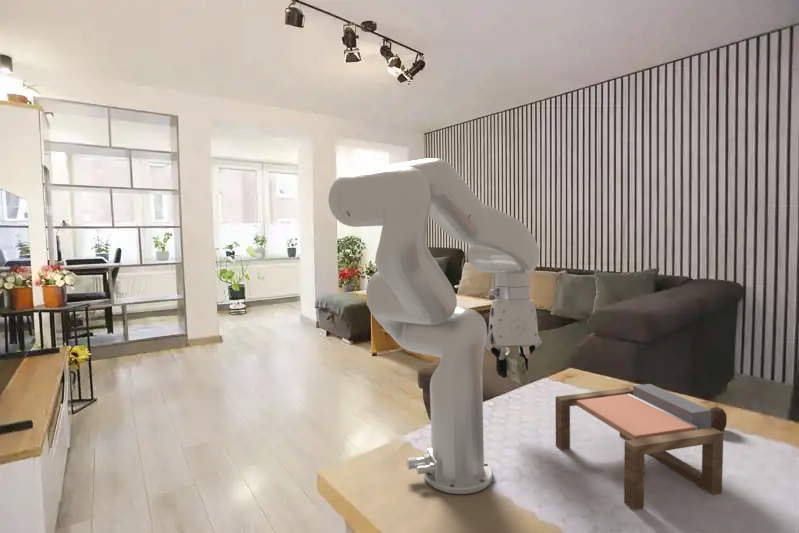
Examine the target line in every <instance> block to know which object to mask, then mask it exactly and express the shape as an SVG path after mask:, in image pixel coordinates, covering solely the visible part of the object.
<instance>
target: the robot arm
mask: <svg viewBox="0 0 799 533" xmlns="http://www.w3.org/2000/svg"><path fill="white" fill-rule="evenodd" d="M328 206H329V209H330V212H331V214H332V215H333V217H334V218H335V219H336V220H337V221H338V222H339V223H341V224H342V225H343V226H344V225H345V226H348V227H354V228H357V227H359V228H360V227H381V226H382V227H381V231H380V232H381V233H380V237H379V241H378V242H379V243H378V245H377V246H378V247H377V250H376V253H375V259H374V262H375V268H376V270H377V271H376V272H374V273H373V274H372V276H371V277H369V279H368V280H369V281H368V282H367V285H366V291H365V298H366V303H367V306H368V307H367V308H368V309H369V312H370V313H371V315H372V316H373V318H374V319H375V320H376V321H377V323H379V325H380V326H381V327H382V328H383V329H384V330H385V331H386V333H387V334H388V335H389V336H390V337H391V338H392V339H393V340H394V341H395V342H396V343H397V344H398V345H399V346H400V347H401V348H403V349H404V350H406V351H409V352H412V353H416V354H421V355H426V356H427V355H428V356H431V357H436V358H439V359H440V361H439V364H438V366H437V367H436V369H435V370H434V371H433V372H432V375H431V377H430V382H429V398H430V399H429V400H430V402H429V403H430V427H431V428H430V434H431V435H430V436H431V439H430V440H431V447H427V449H426V451H427V453H425V454H422V456H418V457H416V456H415V457H407V458H406V460H405V461H406V467H407V470H415V469H416V474H417V475H423V476H424V478H425V480H426V482H427V483H428V484H429V485H430V486H431V487H433V488H435V489H436V490H439V491H441V492H444V493H447V494H453V495H468V494H474V493H478V492H480V491H482V490H484V489H486V488H487V487H489V486H490V485H491V483H492V481H493V477H494V475H493V474H494V472H493V468H492V466H491V464H490V463H489V462H487V461H486V460H485V455H484V454H485V453H484V452H485V448H484V447H485V446H484V443H485V442H484V406H483V405H484V404H483V402H484V398H483V394H484V393H483V371H484V370H483V368H484V356H485V350H488V351H490V353H491V354H492V355H494V356H493V357H495V359H496V368H495V369H496V373H497V375H498V376H500V377H502V378H503V379H505V378H508V377H507V360H505V352H506V347H509V348H510V347H513V348H515V347H518V352H519V354H517V355H518V356H521V357H523V358H524V359H525V366H526V370H527V372H528V370H529V359H530V358H531V355H532V354H533V353H534V352H535V350H536V348H538V347H539V346H541V345H542V344H543V341H542V339H541V337H540V336H539V327H538V325H539V324H538V316H537V315H538V314H537V310H536V309H537V308H536V306H535V304H536V303H535V300H533V299H531V273H532V272H533V271H534V270H535V269H536V268H537V267H538V264H539V261H540V249H539V246H538V243H537V241H536V238H535V237H534V235H533V234H532V232H530V230H529V228H528V227H527V225H525V224H524V223H523V222H522V221H520V220H519V219H518V218H516V217H514V216H513V215H510V214H507V213H505V212H503V211H501V210H499V209H497V208H494V207H493V206H489V205H486V204H484V203H483V202H482V201H481V200H480V199H479V197H478V196H477V195H476V194H475V193H474V191H473V190H472V189H471V188H470V187H469V185H468V183H466V181H465V180H464V179H463V177H462V176H461V175H460V173H458V171H457V170H456V169H455V168H454V166H452V164H450V163H449V162H448V161H446V160H445V159H442V158H435V157H434V158H432V157H430V158H421V159H417V160H410V161H404V162H398V163H397V162H396V163H393V164H389V165H385V166H381V167H377V168H372V169H366V170H360V171H356V172H348V173H344V174H342V175H341V176H339V177H338V178H336V180H334V182H333V183H332V184H331V187H330V189H329V193H328ZM429 218H430V219H431V220H432V221H434V223H436V224H437V225H438V227H440V229H441V230H442V231H444V233H445V234H446V235H447V236H449V237H450V238H451V239H452V240H455V241H458V242H462V243H464V244H470V245H469V248H468V249H467V261H468V262H469V265H470V266H471V268H473V270H475V271H477V272H481V273H487V274H492V273H493V274H494V275H495V276H494V277H495V278H494V279H495V280H494V281H495V282H494V284H495V285H494V286H493V287H494V288H493V289H492V288H491V289H489V296H494V298H495V299H493V300H492V302H491V306H490V310H489V317H488V318H489V319H488V326H487V322H486V319H485V318H484V317H483V316H482V315H481V313H479V312H478V311H476V310H474V309H473V308H469V307H465V306H462V305H461V306H460V305H459V306H458V305H457V303H458V302H457V301H458V299H457V295H456V292H455V290H454V288H453V286H452V284H451V282H450V281H449V279H448V277H447V276H446V274H445V273H444V271H443V270H442V268H441V267H440V265H439V264H438V262H437V261H436V259H435V258H434V256H433V255H432V253H431V250H430V249H429V247H428V244H427V243H428V242H427V232H428V231H427V230H428V223H429V222H428V221H429ZM492 344H495V346H493V345H492Z"/></svg>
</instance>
